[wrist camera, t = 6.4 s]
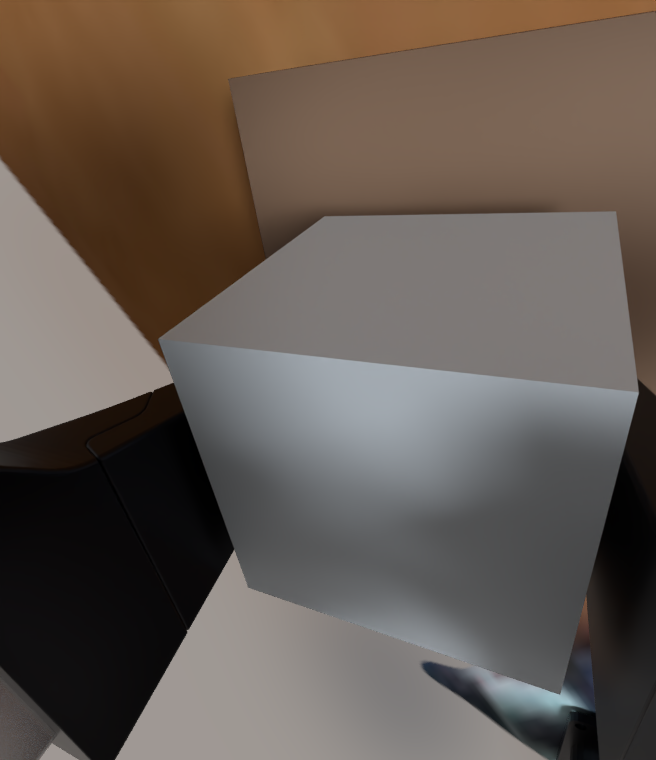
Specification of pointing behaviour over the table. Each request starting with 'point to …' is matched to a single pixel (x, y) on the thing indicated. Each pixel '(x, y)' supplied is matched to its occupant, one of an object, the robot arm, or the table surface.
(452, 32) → the table surface
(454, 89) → the brown block
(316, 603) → the grey-blue block
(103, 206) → the table surface
